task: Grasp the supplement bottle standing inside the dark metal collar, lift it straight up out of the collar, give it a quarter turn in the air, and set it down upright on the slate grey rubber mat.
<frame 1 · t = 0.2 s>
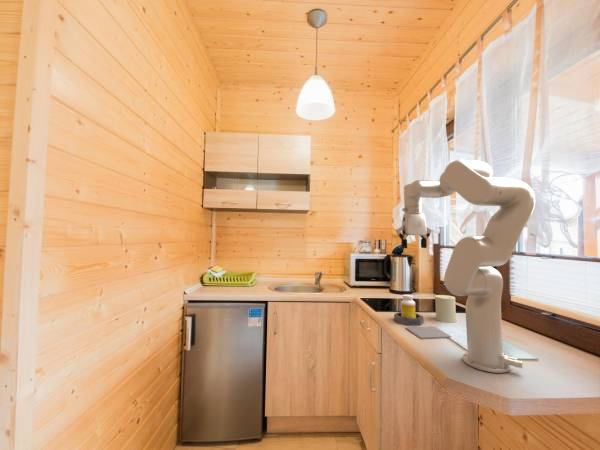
hand: (414, 248, 120), 37 cm above the countertop, tool pointing down, fingers open, 9 cm apart
collar: (408, 321, 129), on the countertop
supplement bottle: (408, 322, 129), resting in collar
mat: (427, 333, 113), on the countertop
can: (446, 320, 132), on the countertop
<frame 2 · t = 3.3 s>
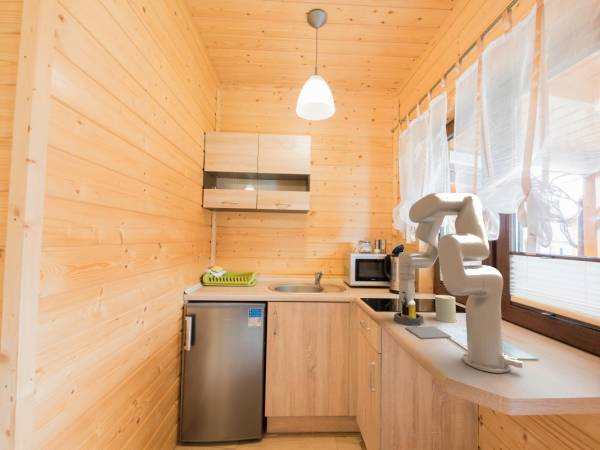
hand: (408, 312, 130), 4 cm above the countertop, tool pointing down, fingers closed on supplement bottle, 6 cm apart
supplement bottle: (408, 322, 129), resting in collar, touching gripper
everything else where it was.
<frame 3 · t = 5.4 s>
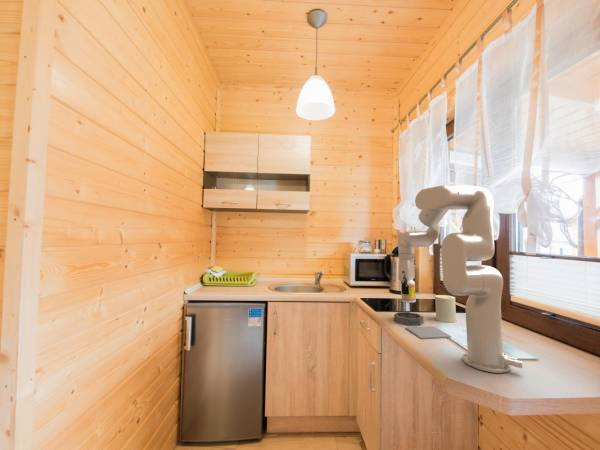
hand: (408, 292, 130), 14 cm above the countertop, tool pointing down, fingers closed on supplement bottle, 6 cm apart
supplement bottle: (408, 302, 129), point 10 cm above the countertop, touching gripper
everything else where it was.
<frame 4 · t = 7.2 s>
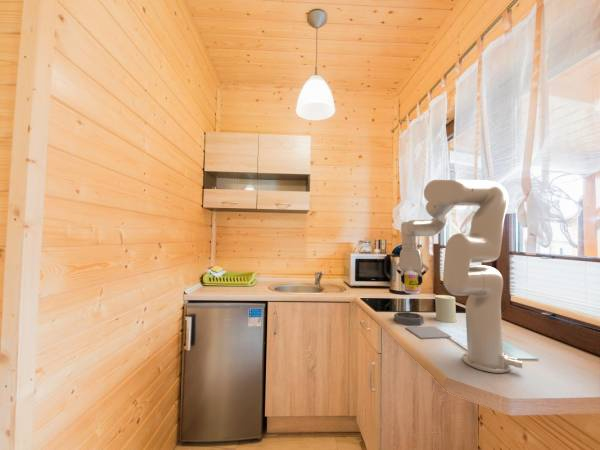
hand: (411, 283, 126), 19 cm above the countertop, tool pointing down, fingers closed on supplement bottle, 6 cm apart
supplement bottle: (412, 293, 126), point 15 cm above the countertop, touching gripper
everything else where it was.
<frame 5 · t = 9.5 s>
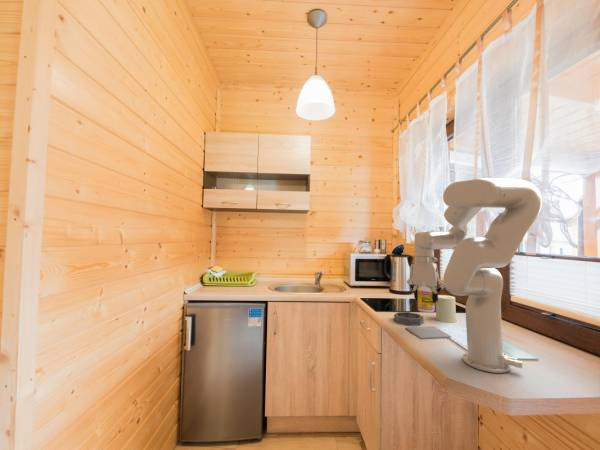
hand: (425, 300, 114), 14 cm above the countertop, tool pointing down, fingers closed on supplement bottle, 6 cm apart
supplement bottle: (426, 311, 114), point 9 cm above the countertop, touching gripper
everything else where it was.
when the fingers open (6 cm above the countertop, at t = 11.4 s): supplement bottle stays where it is, resting on mat.
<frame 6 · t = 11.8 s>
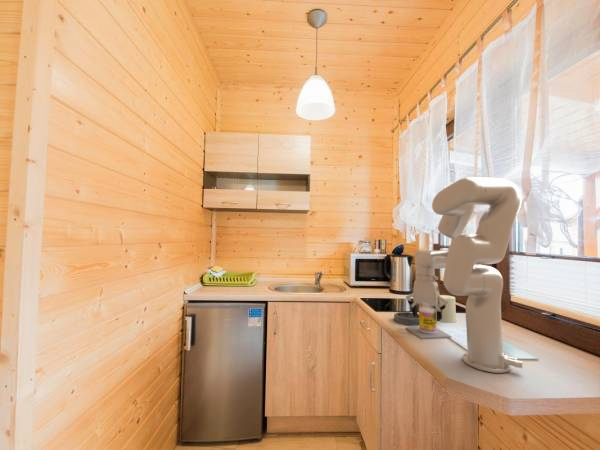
hand: (426, 318, 114), 6 cm above the countertop, tool pointing down, fingers open, 9 cm apart
supplement bottle: (428, 332, 113), resting on mat
everything else where it was.
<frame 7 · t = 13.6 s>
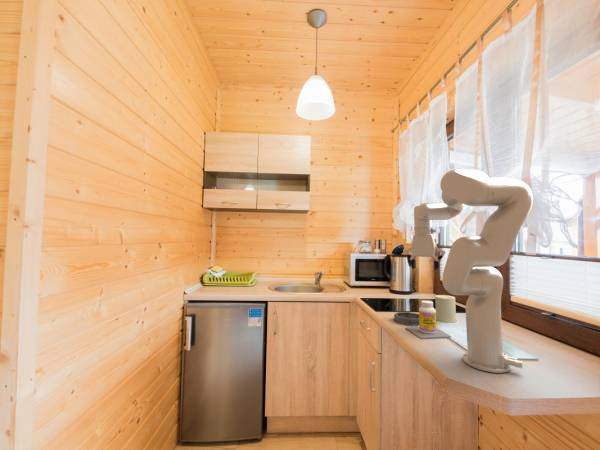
hand: (424, 269, 120), 27 cm above the countertop, tool pointing down, fingers open, 9 cm apart
nothing on the countertop moved.
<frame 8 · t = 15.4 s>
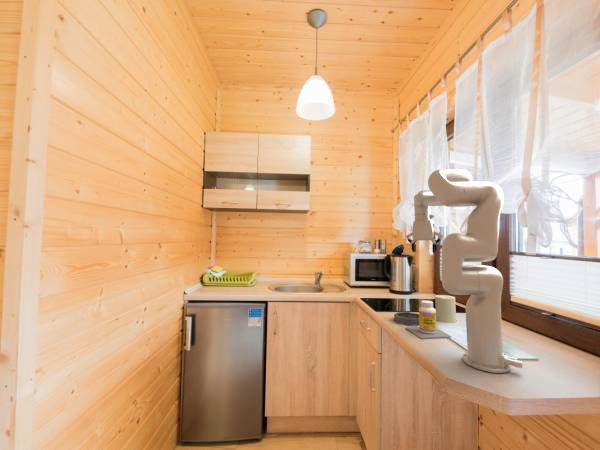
hand: (424, 252, 130), 34 cm above the countertop, tool pointing down, fingers open, 9 cm apart
nothing on the countertop moved.
at the end: supplement bottle 0.3 cm off-centre on the mat, point 0.4 cm above the mat's base; supplement bottle tilted 0°; the gripper is holding nothing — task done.
